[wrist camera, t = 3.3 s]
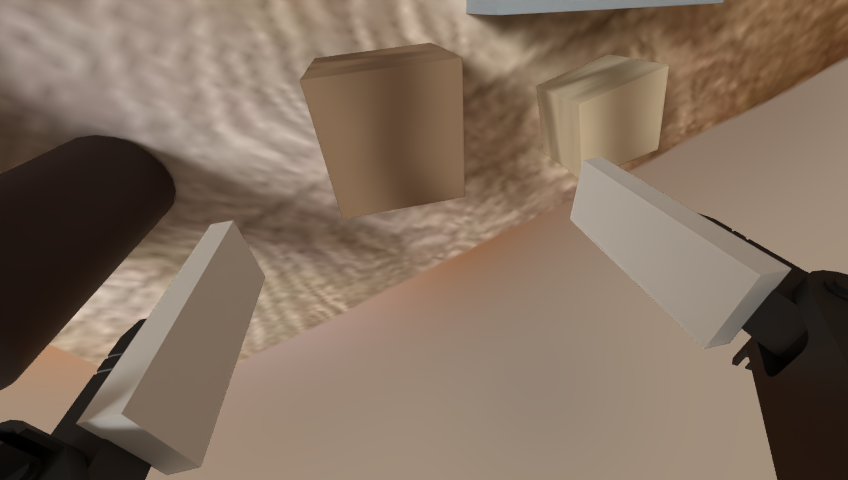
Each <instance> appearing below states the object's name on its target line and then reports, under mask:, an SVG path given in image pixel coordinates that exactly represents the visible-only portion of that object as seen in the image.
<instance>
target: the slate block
mask: <svg viewBox="0 0 848 480" xmlns="http://www.w3.org/2000/svg"><path fill="white" fill-rule="evenodd" d="M723 1H724V0H467V5H466V14H484V15H510V14H528V13H547V12H565V11H584V10H602V9H621V8H639V7H658V6H676V5H694V4H713V3H723Z"/></svg>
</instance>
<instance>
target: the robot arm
mask: <svg viewBox="0 0 848 480" xmlns="http://www.w3.org/2000/svg"><path fill="white" fill-rule="evenodd" d="M570 220H571V221H572V222H573V223H574V224H575V225H576V226H577V227H578V228H579V229H581V230H582V231H583V232H584V233H585V234H586V235H587V236H588V237H589V238H590V239H591V240H592V241H593V242H594V243H595V244H596V245H597V246H598V247H599V248H600V249H601V250H602V251H603V252H604V253H605V254H606V255H607V256H608V257H609V258H611V259H612V260H613V261H614V262H615V263H616V264H617V265H618V266H619V267H620V268H621V269H622V270H623V271H624V272H625V273H626V274H627V275H628V276H629V277H630V278H631V279H632V280H633V281H634V282H635V283H636V284H637V285H639V287H641V288H642V289H643V290H644V291H645V292H646V293H647V294H648V295H649V296H650V297H651V298H652V299H653V300H654V301H655V302H656V303H657V304H658V305H659V306H660V307H661V308H662V309H663V310H664V311H665V312H667V313H668V315H670V316H671V317H672V318H673V319H674V320H675V321H676V322H677V323H678V324H679V325H680V326H681V327H682V328H683V329H684V330H685V331H686V332H687V333H688V334H689V335H690V336H691V337H692V338H694V340H696V342H697V343H698V344H700V345H701V346H702V347H703V348H704V349H706V348H711V347H715V346H719V345H724V344H727V343H730V342H731V341H732V340H733V338H734V337H735V336H736V335H737V333H738V332H739V331H740V330H741V329H743V330H744V331H746V332H747V333H748V334H750V335H751V336H752V337H751V338H750V339H749V341H748V342H747V343H746V344H745V345H744V346H743V347H742V348H741V350H740V351H739V352H738V353H737V354H736V355H735V356H734V357H733V361H732V364H733V365H736V366H737V365H739V364H740V363H741V361H742V360H743V359H744V358H745V357H749V360H750V362H749V363H748V364H747V366H746V367H745V368H746V369H749V370H752V373H753V377H754V382H755V386H756V390H757V395H758V399H759V403H760V407H761V412H762V415H763V420H764V424H765V429H766V433H767V437H768V442H769V445H770V450H771V454H772V459H773V463H774V467H775V471H776V476H777V480H848V275H847V274H843V273H839V272H833V271H825V270H821V271H812V272H811V273H808V272H806V271H804V270H802V269H800V268H799V267H797V266H795V265H793V264H792V263H790V262H788V261H786V260H785V259H783V258H781V257H779V256H778V255H776V254H774V253H772V252H771V251H769V250H767V249H766V248H764V247H762V246H761V245H759V244H757V243H755V242H753V241H752V240H750V239H749V240H747V239H746V237H745V236H743V235H741V234H740V233H738V232H736V231H732V229H731V228H729V227H727V226H726V225H724V224H722V223H720V222H719V221H717V220H715V219H713V218H710V217H708V216H704V215H702V214H699V213H696V212H694V211H693V210H691V209H689V208H688V207H686V206H684V205H683V204H681V203H679V202H677V201H676V200H674V199H672V198H671V197H669V196H667V195H666V194H664V193H662V192H661V191H659V190H657V189H655V188H654V187H652V186H650V185H648V184H647V183H645V182H644V181H642V180H640V179H638V178H637V177H635V176H633V175H632V174H630V173H628V172H627V171H625V170H623V169H621V168H620V167H618V166H616V165H615V164H613V163H611V162H610V161H608V160H606V159H604V158H603V157H598V158H592V159H586V160H583V163H582V167H581V172H580V176H579V181H578V185H577V190H576V194H575V199H574V203H573V208H572V212H571V217H570ZM264 279H265V276H264V274H263V272H262V270H261V268H260V267H259V265H258V263H257V261H256V259H255V258H254V256H253V254H252V252H251V251H250V249H249V247H248V245H247V243H246V242H245V240H244V238H243V236H242V235H241V233H240V231H239V229H238V227H237V226H236V224H235V222H234V220H232V221H227V222H221V223H215V224H211V225H210V226H209V228H208V229H207V231H206V232H205V234H204V235H203V237H202V238H201V240H200V241H199V243H198V244H197V246H196V247H195V248H194V250H193V251H192V253H191V254H190V256H189V257H188V259H187V260H186V262H185V263H184V265H183V266H182V268H181V269H180V271H179V272H178V274H177V275H176V277H175V278H174V280H173V281H172V282H171V284H170V285H169V287H168V288H167V290H166V291H165V293H164V294H163V296H162V297H161V299H160V300H159V302H158V303H157V305H156V306H155V308H154V309H153V311H152V312H151V314H150V315H149V316H148V318H147V319H142V320H139V321H138V322H137V323H136V324H135V325H134V326H133V327H132V328H130V329H129V330H128V331H127V332H126V333H125V334H124V335H123V336H122V337H121V338H120V339H119V340H118V342H117V343H116V345H115V346H114V347H113V349H112V350H111V352H110V353H109V354H108V359H105V360H104V361H103V363H102V364H101V366H100V367H99V368H98V370H97V374H96V375H93V377H92V378H91V379H90V381H89V382H88V384H87V385H86V387H85V388H84V389H83V391H82V392H81V393H80V395H79V396H78V398H77V399H76V400H75V402H74V403H73V405H72V406H71V407H70V409H69V410H68V411H67V413H66V414H65V416H64V417H63V418H62V420H61V421H60V423H59V424H58V425H57V427H56V428H55V430H54V431H53V432H52V434H51V435H49V434H47V433H45V432H43V431H41V430H40V429H37V428H36V427H34V426H31V425H30V424H28V423H26V422H24V421H18V420H9V421H6V422H2V423H0V480H145V479H146V476H147V474H148V472H149V470H150V467H151V466H152V467H154V468H155V469H157V470H159V471H160V472H162V473H164V474H166V475H170V474H174V473H178V472H182V471H186V470H191V469H195V468H199V467H201V465H202V462H203V459H204V456H205V454H206V451H207V447H208V445H209V441H210V439H211V436H212V433H213V430H214V427H215V424H216V421H217V418H218V415H219V412H220V409H221V406H222V403H223V400H224V397H225V394H226V391H227V388H228V385H229V382H230V380H231V377H232V374H233V371H234V368H235V365H236V362H237V359H238V356H239V353H240V350H241V347H242V344H243V341H244V338H245V335H246V332H247V329H248V326H249V323H250V320H251V317H252V314H253V311H254V308H255V306H256V303H257V300H258V297H259V294H260V291H261V288H262V285H263V282H264Z"/></svg>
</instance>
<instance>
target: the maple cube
mask: <svg viewBox="0 0 848 480" xmlns="http://www.w3.org/2000/svg"><path fill="white" fill-rule="evenodd" d="M668 69H669V65H665V64H660V63H654V62H649V61H643V60H638V59H632V58H627V57H621V56H616V55H610V54H608V55H605V56H603V57H601V58H599V59H596V60H594V61H592V62H590V63H587V64H585V65H583V66H581V67H578V68H576V69H574V70H571V71H569V72H567V73H565V74H562V75H560V76H558V77H556V78H553V79H551V80H549V81H547V82H544V83H542V84H540V85H538V86H536V89H537V98H538V106H539V114H540V122H541V131H542V139H543V147H544V153H545V154H547V155H548V156H549V157H551V158H552V159H553V160H555V161H556V162H557V163H559V164H560V165H561V166H563V167H564V168H565V169H567V170H568V171H569V172H571V173H572V174H573V175H575V176H576V177H577V178H579V176H580V172H581V167H582V163H583V160H586V159H592V158H598V157H603V158H604V159H606V160H608V161H610V162H611V163H613V164H615V165H616V166H619V165H621V164H624V163H626V162H628V161H631V160H633V159H636V158H638V157H640V156H643V155H645V154H648V153H650V152H652V151H655V150H657V149H658V145H659V138H660V130H661V123H662V115H663V107H664V100H665V92H666V85H667V77H668Z"/></svg>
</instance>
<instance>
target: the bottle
mask: <svg viewBox="0 0 848 480" xmlns="http://www.w3.org/2000/svg"><path fill="white" fill-rule="evenodd" d="M175 192H176V191H175V187H174V183H173V179H172V178H171V176H170V175H169V173H168V172H167V170H166V169H165V167H164V166H163V165H162V164H161V163H160V162H159V161H158V160H157V159H156V158H154V157H153V156H152V155H151V154H150V153H148V152H146V151H145V150H143V149H141V148H140V147H138V146H136V145H135V144H132V143H129V142H126V141H123V140H121V139H118V138H114V137H106V136H98V135H94V136H87V137H80V138H76V139H74V140H72V141H69V142H67V143H65V144H63V145H61V146H59V147H57V148H55V149H53V150H51V151H49V152H46V153H44V154H42V155H40V156H38V157H36V158H34V159H32V160H30V161H28V162H26V163H23V164H21V165H19V166H17V167H15V168H13V169H11V170H9V171H7V172H5V173H2V174H0V390H2V389H4V388H6V387H7V386H9V385H11V384H12V383H13V382H15V381H16V380H17V379H18V378H19V376H20V375H21V374H22V373H23V372H24V371H25V370H26V369H27V368H28V366H29V365H30V364H31V363H32V362H33V361H34V360H35V359H36V358H37V356H38V355H39V354H40V353H41V352H42V351H43V350H44V349H45V347H46V346H47V345H48V344H49V343H50V342H51V341H52V340H53V339H54V337H55V336H56V335H57V334H58V333H59V332H60V331H61V330H62V329H63V327H64V326H65V325H66V324H67V323H68V322H69V321H70V320H71V319H72V317H73V316H74V315H75V314H76V313H77V312H78V311H79V310H80V308H81V307H82V306H83V305H84V304H85V303H86V302H87V301H88V300H89V298H90V297H91V296H92V295H93V294H94V293H95V292H96V291H97V290H98V288H99V287H100V286H101V285H102V284H103V283H104V282H105V281H106V280H107V278H108V277H109V276H110V275H111V274H112V273H113V272H114V271H115V269H116V268H117V267H118V266H119V265H120V264H121V263H122V262H123V261H124V259H125V258H126V257H127V256H128V255H129V254H130V253H131V252H132V251H133V249H134V248H135V247H136V246H137V245H138V244H139V243H140V242H141V241H142V239H143V238H144V237H145V236H146V235H147V234H148V233H149V232H150V230H151V229H152V228H153V227H154V226H155V225H156V224H157V223H158V222H159V220H160V219H161V218H162V217H163V216H164V215H165V214H166V213H167V211H168V210H169V209H170V208H171V206H172V205H173V203H174V197H175Z"/></svg>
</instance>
